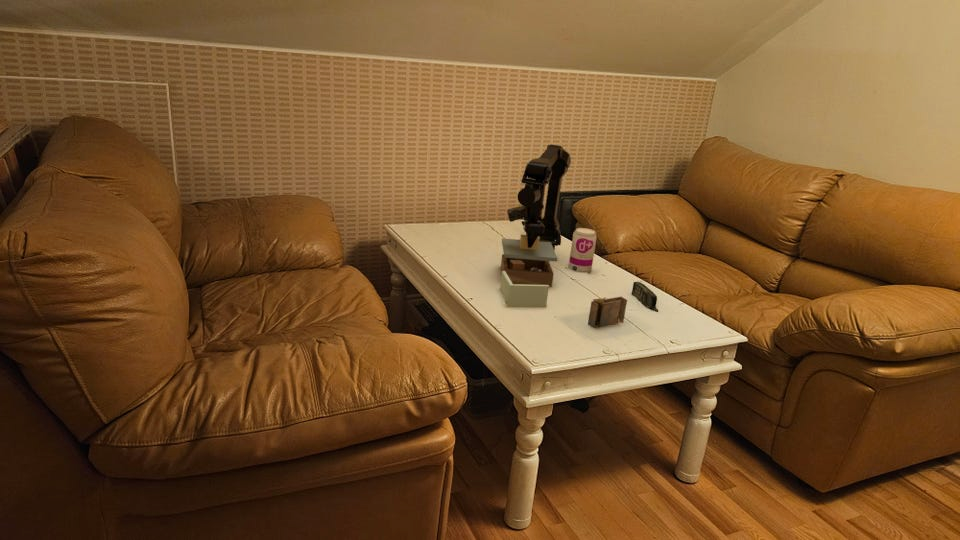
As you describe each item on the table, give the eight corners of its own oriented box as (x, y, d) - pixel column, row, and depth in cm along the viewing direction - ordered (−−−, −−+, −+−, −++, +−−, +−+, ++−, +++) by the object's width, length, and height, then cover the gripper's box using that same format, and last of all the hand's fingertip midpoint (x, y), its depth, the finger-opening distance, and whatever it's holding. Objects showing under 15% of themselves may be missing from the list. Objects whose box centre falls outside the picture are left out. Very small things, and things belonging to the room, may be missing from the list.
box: (500, 268, 212) (502, 254, 210) (545, 272, 212) (547, 257, 210) (502, 285, 196) (504, 269, 195) (551, 289, 197) (553, 273, 195)
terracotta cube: (508, 270, 208) (509, 260, 207) (519, 270, 209) (520, 259, 208) (512, 275, 204) (513, 264, 203) (523, 274, 206) (524, 263, 204)
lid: (501, 241, 209) (503, 227, 207) (550, 245, 209) (552, 231, 208) (504, 257, 193) (506, 242, 191) (557, 261, 193) (559, 246, 192)
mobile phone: (632, 280, 199) (654, 297, 185) (640, 280, 199) (662, 297, 186) (629, 294, 200) (651, 312, 186) (637, 294, 201) (660, 311, 187)
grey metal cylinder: (529, 278, 203) (530, 267, 202) (539, 278, 203) (541, 267, 202) (530, 282, 200) (531, 270, 198) (540, 282, 200) (542, 271, 198)
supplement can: (590, 275, 213) (597, 235, 208) (567, 272, 214) (573, 232, 209) (591, 268, 221) (597, 229, 216) (568, 265, 222) (574, 226, 217)
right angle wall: (545, 308, 183) (548, 286, 180) (507, 308, 181) (510, 285, 178) (535, 293, 194) (538, 272, 192) (499, 293, 192) (501, 271, 189)
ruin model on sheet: (594, 330, 171) (599, 298, 168) (587, 325, 174) (592, 294, 171) (623, 324, 177) (629, 293, 174) (616, 320, 179) (622, 290, 176)
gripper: (508, 192, 203) (503, 236, 209) (511, 205, 186) (506, 253, 191) (540, 194, 204) (535, 238, 209) (547, 208, 186) (541, 255, 192)
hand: (529, 246), depth 200 cm, fingers closed on lid, 3 cm apart
